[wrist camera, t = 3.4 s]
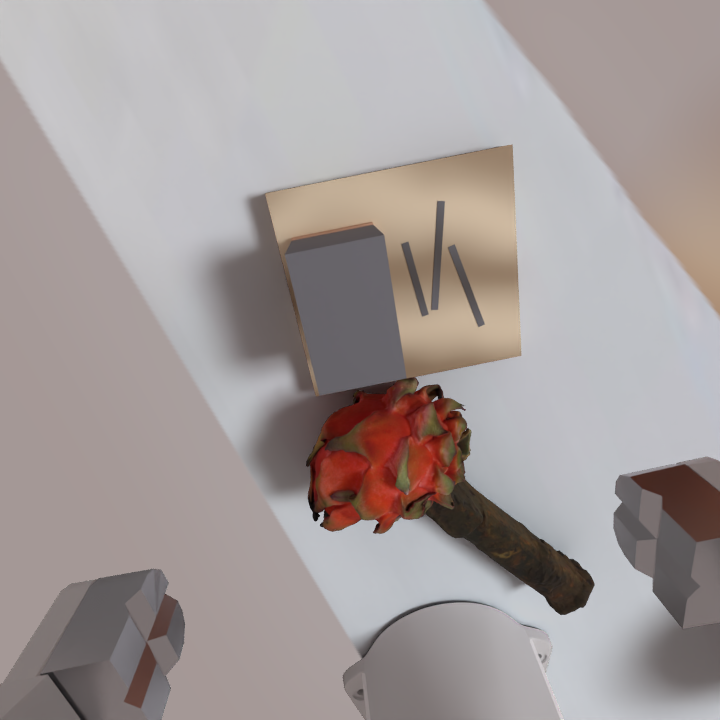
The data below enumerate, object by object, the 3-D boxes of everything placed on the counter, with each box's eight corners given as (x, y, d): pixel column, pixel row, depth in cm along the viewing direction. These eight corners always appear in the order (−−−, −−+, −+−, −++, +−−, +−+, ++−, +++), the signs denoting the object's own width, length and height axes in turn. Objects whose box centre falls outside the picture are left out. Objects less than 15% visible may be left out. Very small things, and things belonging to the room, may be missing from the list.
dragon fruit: (456, 364, 30) (328, 452, 34) (395, 323, 24) (245, 438, 28) (525, 478, 26) (369, 563, 30) (474, 467, 19) (282, 579, 23)
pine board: (511, 346, 29) (521, 355, 28) (316, 386, 29) (315, 396, 28) (501, 146, 24) (512, 144, 23) (268, 192, 24) (264, 193, 23)
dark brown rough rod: (576, 554, 37) (610, 603, 32) (538, 581, 38) (566, 633, 33) (426, 418, 31) (443, 457, 26) (384, 454, 31) (394, 498, 27)
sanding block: (392, 344, 27) (406, 380, 22) (320, 359, 27) (319, 397, 22) (371, 221, 24) (383, 232, 19) (291, 237, 24) (284, 252, 19)
